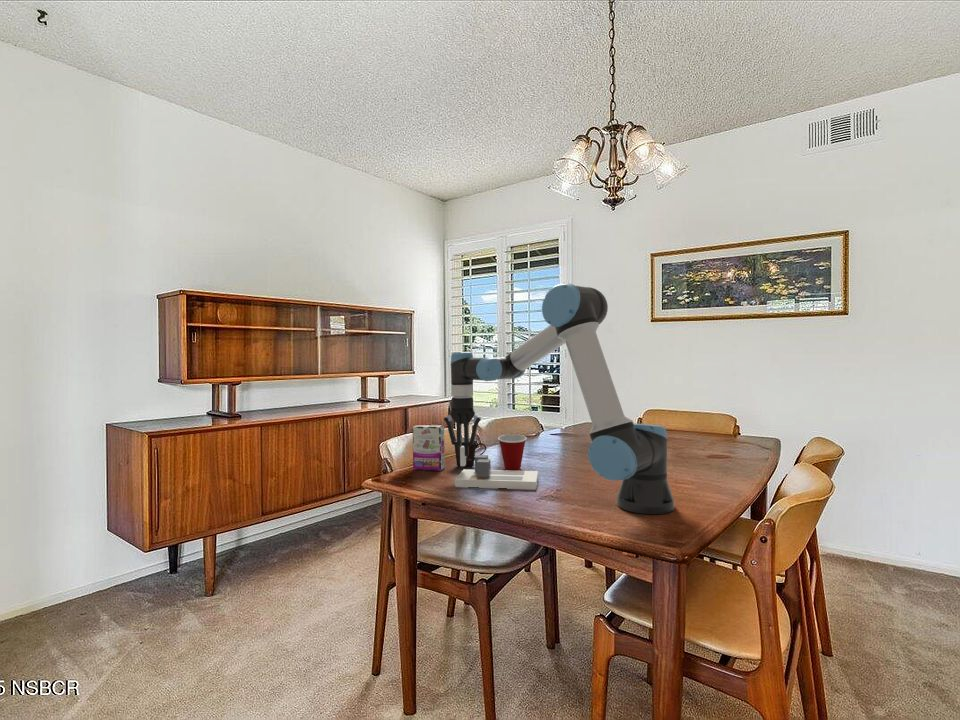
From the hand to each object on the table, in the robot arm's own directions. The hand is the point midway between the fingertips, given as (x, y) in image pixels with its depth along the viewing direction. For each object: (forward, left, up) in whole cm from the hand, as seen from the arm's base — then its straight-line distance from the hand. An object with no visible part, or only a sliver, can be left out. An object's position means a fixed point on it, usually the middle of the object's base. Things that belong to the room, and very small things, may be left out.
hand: (463, 465), depth 171 cm
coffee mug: (+19, +2, -5) cm, 19 cm away
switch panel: (-3, -12, -5) cm, 14 cm away
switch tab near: (-7, -8, -2) cm, 11 cm away
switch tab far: (0, -6, -2) cm, 7 cm away
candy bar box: (+13, +16, -5) cm, 21 cm away
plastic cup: (+17, -15, -5) cm, 23 cm away
